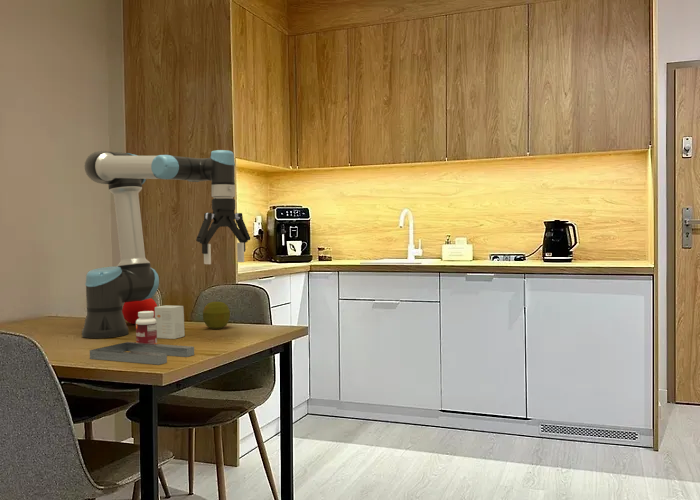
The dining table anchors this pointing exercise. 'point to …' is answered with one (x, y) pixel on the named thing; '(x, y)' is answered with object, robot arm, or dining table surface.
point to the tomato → (137, 309)
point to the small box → (170, 321)
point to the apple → (216, 315)
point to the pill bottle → (146, 328)
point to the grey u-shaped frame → (141, 352)
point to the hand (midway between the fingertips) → (224, 263)
